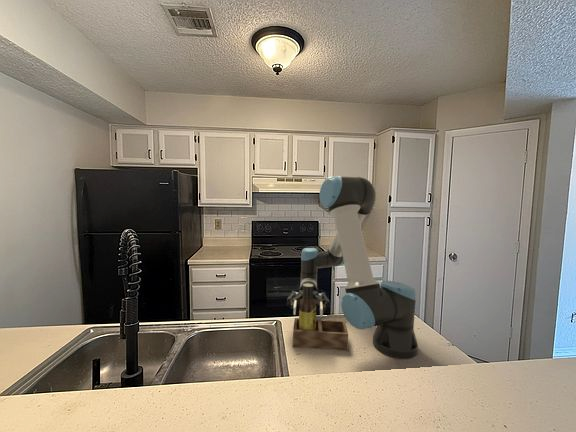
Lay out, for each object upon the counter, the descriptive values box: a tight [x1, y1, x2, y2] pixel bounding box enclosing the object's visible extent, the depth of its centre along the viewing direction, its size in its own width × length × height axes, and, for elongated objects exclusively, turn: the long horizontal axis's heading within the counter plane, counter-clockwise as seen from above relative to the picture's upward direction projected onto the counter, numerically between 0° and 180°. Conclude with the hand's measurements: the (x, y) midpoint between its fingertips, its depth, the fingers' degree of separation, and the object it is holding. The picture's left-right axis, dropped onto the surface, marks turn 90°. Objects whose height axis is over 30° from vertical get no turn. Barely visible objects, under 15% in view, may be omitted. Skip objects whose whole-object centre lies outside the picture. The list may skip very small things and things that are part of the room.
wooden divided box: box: [292, 317, 349, 352], centre depth 102 cm, size 19×10×6 cm, turn 85°
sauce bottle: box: [298, 284, 317, 331], centre depth 101 cm, size 6×6×20 cm
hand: (307, 311), depth 97 cm, fingers open, 9 cm apart
